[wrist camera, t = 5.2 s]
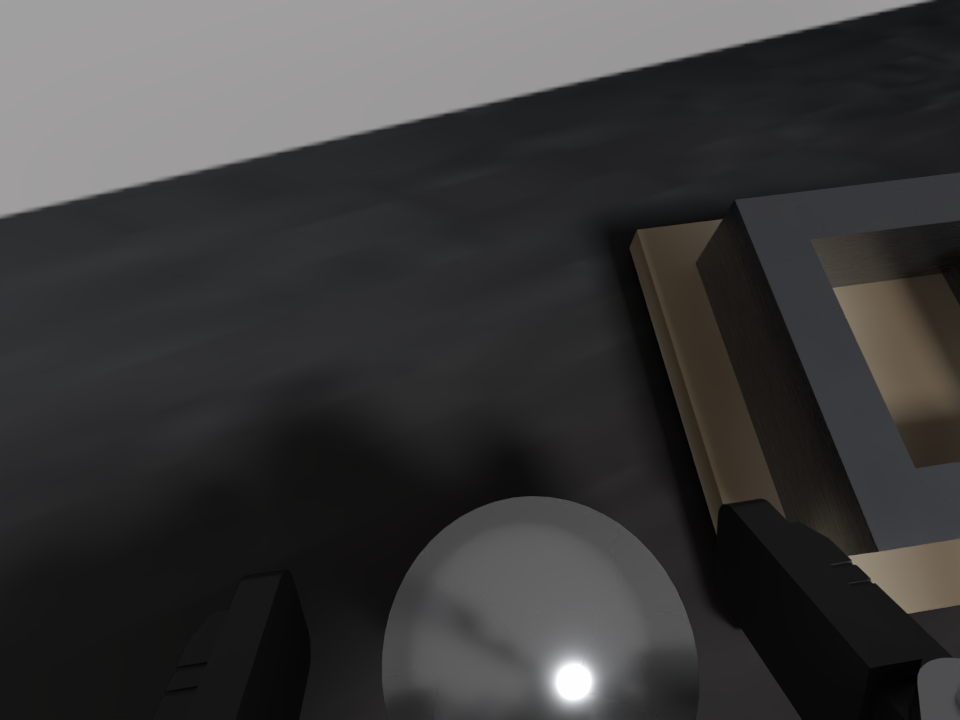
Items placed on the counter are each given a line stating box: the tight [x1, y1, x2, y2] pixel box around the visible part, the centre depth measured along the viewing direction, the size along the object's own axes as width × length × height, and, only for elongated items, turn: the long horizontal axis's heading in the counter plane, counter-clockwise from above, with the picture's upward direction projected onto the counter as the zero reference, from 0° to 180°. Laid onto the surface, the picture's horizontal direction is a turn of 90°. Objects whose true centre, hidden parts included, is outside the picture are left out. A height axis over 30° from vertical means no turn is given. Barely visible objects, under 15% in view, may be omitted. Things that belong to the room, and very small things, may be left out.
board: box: [630, 219, 960, 614], centre depth 17 cm, size 12×12×1 cm
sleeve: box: [696, 173, 960, 556], centre depth 15 cm, size 9×9×3 cm
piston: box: [382, 496, 699, 720], centre depth 11 cm, size 4×4×8 cm
